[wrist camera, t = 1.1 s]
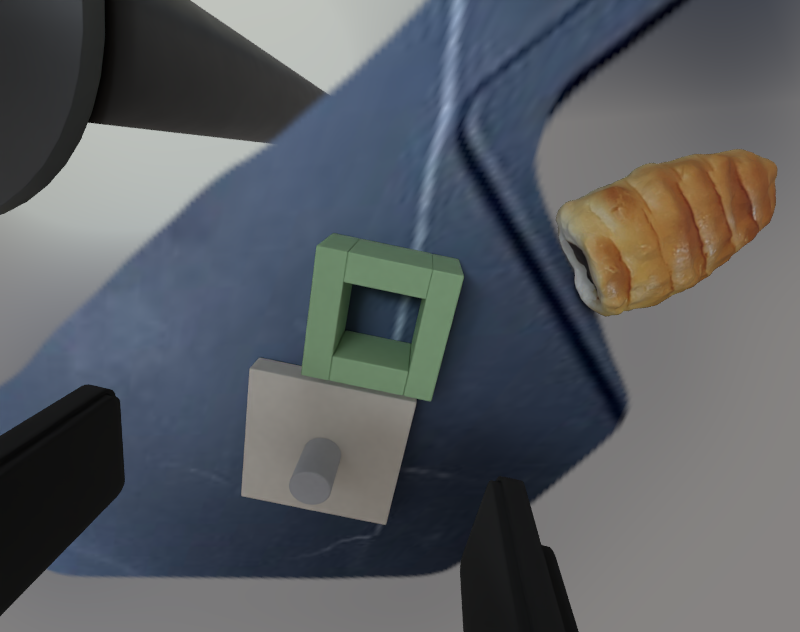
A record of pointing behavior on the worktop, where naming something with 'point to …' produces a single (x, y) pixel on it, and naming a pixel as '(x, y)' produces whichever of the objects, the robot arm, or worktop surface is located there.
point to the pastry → (664, 227)
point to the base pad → (329, 417)
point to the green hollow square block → (369, 355)
